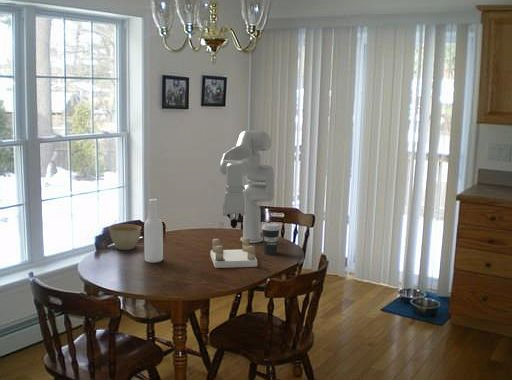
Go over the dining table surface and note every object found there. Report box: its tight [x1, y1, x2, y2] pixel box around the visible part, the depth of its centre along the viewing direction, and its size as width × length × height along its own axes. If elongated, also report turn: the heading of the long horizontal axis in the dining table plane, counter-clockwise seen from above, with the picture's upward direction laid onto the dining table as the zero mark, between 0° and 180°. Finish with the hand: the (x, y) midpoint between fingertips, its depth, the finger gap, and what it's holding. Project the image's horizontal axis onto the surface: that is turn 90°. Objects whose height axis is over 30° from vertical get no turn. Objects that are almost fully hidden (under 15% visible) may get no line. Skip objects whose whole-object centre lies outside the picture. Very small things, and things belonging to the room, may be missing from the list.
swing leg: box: [216, 245, 224, 260], centre depth 280 cm, size 10×4×6 cm, turn 9°
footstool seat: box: [210, 248, 258, 269], centre depth 286 cm, size 20×20×3 cm
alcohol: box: [143, 198, 164, 264], centre depth 282 cm, size 9×9×30 cm
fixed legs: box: [212, 238, 256, 260], centre depth 285 cm, size 19×19×6 cm
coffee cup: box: [261, 222, 281, 256], centre depth 300 cm, size 10×10×15 cm
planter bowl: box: [109, 223, 142, 251], centre depth 306 cm, size 16×16×11 cm
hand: (233, 227), depth 277 cm, fingers closed
